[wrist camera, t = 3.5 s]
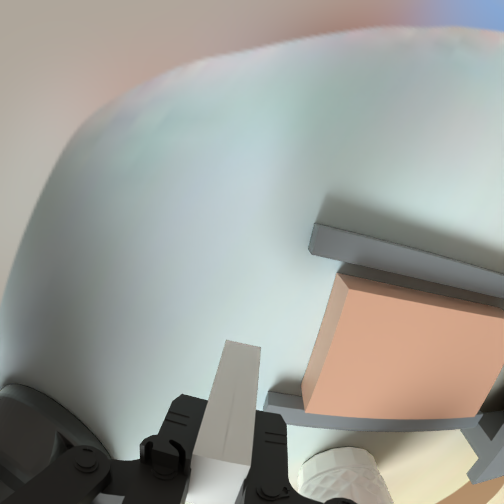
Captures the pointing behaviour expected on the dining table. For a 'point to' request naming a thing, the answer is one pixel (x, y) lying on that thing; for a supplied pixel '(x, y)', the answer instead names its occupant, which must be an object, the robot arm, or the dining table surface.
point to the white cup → (343, 477)
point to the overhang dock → (426, 268)
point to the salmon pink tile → (402, 353)
